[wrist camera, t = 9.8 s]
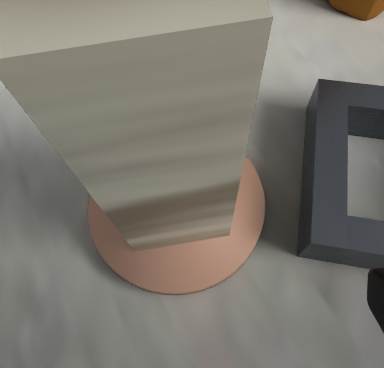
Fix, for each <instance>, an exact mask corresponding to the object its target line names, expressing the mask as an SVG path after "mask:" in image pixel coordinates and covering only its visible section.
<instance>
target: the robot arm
mask: <svg viewBox="0 0 384 368" xmlns="http://www.w3.org/2000/svg"><path fill="white" fill-rule="evenodd" d="M367 302H368V305H369V308H370V310H371V311H372V313H373V315H374V317H375V319H376V320H377V322H378V324H379V326H380V327H381V329H382V331H383V333H384V267H381V268H375V269H371V270H370V271H369V273H368V284H367Z"/></svg>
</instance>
